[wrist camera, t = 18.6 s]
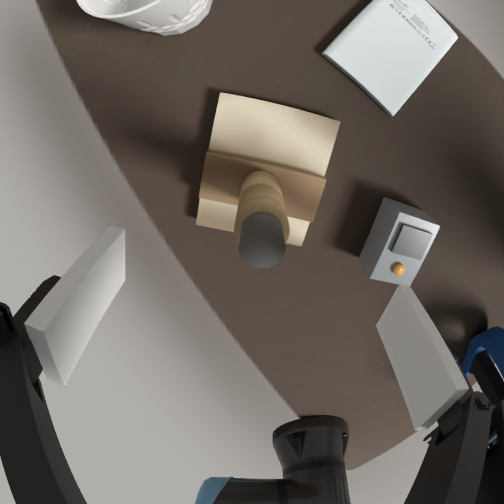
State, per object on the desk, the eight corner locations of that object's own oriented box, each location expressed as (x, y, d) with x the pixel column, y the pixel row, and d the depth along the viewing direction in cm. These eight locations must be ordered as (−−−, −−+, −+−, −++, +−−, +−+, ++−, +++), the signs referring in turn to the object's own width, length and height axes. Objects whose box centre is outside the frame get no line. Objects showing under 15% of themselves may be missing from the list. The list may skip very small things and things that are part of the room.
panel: (299, 240, 29) (302, 251, 27) (198, 219, 28) (193, 229, 26) (336, 120, 23) (343, 123, 21) (222, 92, 22) (218, 92, 20)
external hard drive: (319, 54, 20) (392, -20, 15) (387, 115, 23) (451, 39, 18) (323, 52, 19) (399, -25, 14) (394, 117, 21) (460, 38, 16)
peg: (274, 210, 25) (283, 279, 16) (237, 201, 24) (225, 267, 16) (284, 175, 23) (301, 227, 15) (246, 165, 23) (238, 213, 14)
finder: (396, 265, 30) (411, 288, 26) (358, 256, 30) (371, 280, 26) (421, 209, 27) (442, 228, 23) (383, 196, 26) (401, 213, 22)
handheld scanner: (455, 376, 42) (490, 457, 25) (474, 319, 35) (532, 416, 17) (473, 368, 42) (510, 445, 24) (494, 310, 34) (553, 399, 17)
